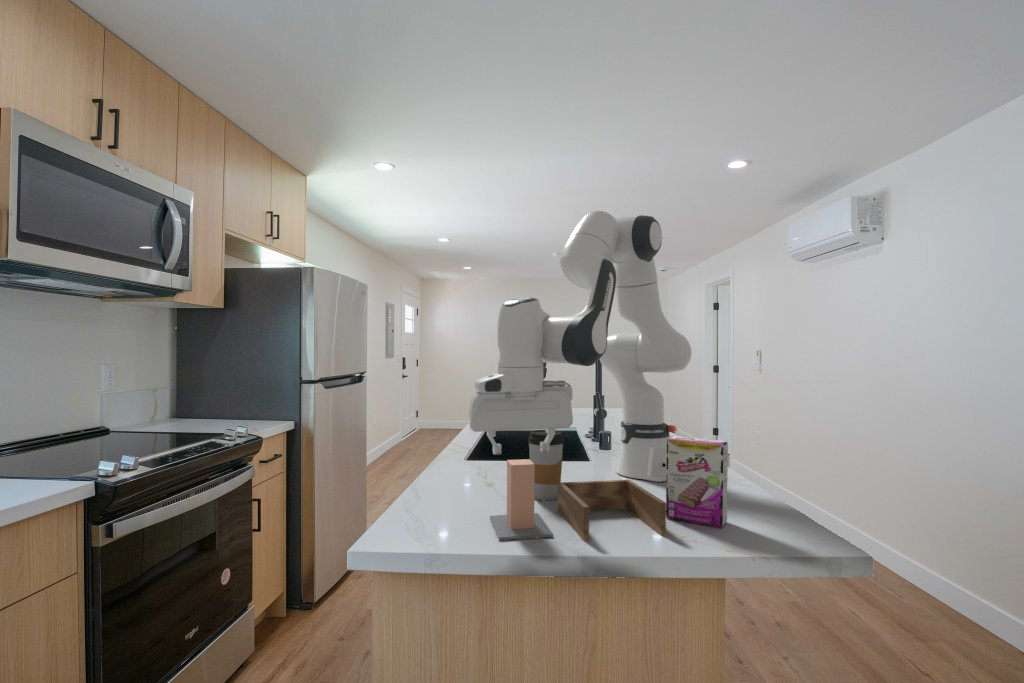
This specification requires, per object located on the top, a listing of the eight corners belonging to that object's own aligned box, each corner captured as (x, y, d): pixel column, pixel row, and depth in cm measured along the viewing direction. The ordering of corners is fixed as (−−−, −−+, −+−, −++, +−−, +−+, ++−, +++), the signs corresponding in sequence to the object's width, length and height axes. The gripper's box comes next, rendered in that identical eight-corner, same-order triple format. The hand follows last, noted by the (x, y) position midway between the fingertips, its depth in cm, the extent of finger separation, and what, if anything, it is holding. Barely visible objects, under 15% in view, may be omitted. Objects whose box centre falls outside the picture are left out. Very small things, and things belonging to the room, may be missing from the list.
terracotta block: (529, 519, 102) (529, 459, 102) (534, 527, 98) (534, 464, 98) (506, 521, 101) (507, 460, 101) (510, 529, 97) (511, 465, 97)
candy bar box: (665, 519, 105) (665, 438, 105) (671, 512, 109) (671, 434, 109) (723, 529, 99) (723, 444, 99) (728, 522, 103) (728, 440, 103)
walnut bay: (628, 507, 113) (628, 479, 113) (665, 535, 96) (665, 502, 96) (557, 510, 110) (558, 482, 110) (583, 540, 93) (583, 507, 93)
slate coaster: (537, 516, 106) (537, 513, 106) (553, 537, 95) (553, 533, 95) (489, 518, 104) (489, 515, 104) (499, 540, 93) (499, 537, 93)
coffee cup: (561, 503, 115) (561, 436, 115) (524, 500, 117) (525, 434, 117) (565, 493, 123) (565, 430, 123) (530, 490, 125) (531, 428, 125)
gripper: (567, 378, 105) (568, 446, 105) (467, 381, 101) (467, 451, 101) (577, 381, 99) (577, 453, 99) (470, 383, 95) (471, 458, 95)
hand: (521, 452), depth 100 cm, fingers open, 8 cm apart
